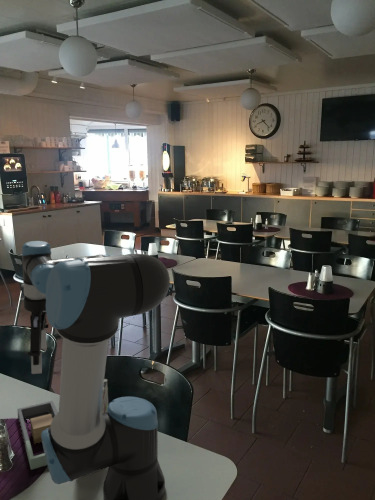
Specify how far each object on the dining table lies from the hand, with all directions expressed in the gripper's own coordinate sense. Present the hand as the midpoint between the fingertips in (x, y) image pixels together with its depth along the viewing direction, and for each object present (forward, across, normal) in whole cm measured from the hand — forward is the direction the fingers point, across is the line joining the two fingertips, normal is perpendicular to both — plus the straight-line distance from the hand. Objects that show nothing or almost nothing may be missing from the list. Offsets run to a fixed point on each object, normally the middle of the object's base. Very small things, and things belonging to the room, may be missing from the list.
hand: (39, 360), depth 128 cm
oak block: (+22, +7, +1) cm, 23 cm away
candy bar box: (+20, +12, +17) cm, 29 cm away
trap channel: (+21, +7, +1) cm, 23 cm away
